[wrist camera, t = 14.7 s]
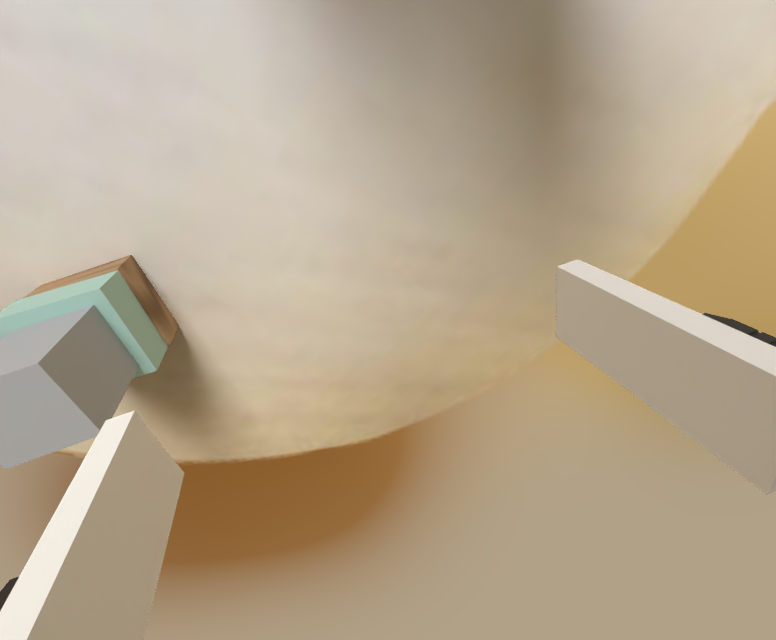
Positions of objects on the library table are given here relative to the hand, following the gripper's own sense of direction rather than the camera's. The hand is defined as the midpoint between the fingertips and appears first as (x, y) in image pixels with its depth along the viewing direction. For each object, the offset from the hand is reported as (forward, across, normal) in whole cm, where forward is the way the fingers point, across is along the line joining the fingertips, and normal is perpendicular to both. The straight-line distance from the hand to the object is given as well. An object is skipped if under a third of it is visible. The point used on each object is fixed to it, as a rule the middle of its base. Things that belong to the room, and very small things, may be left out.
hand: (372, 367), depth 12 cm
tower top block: (+25, -20, -4) cm, 33 cm away
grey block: (+21, -20, -5) cm, 30 cm away
